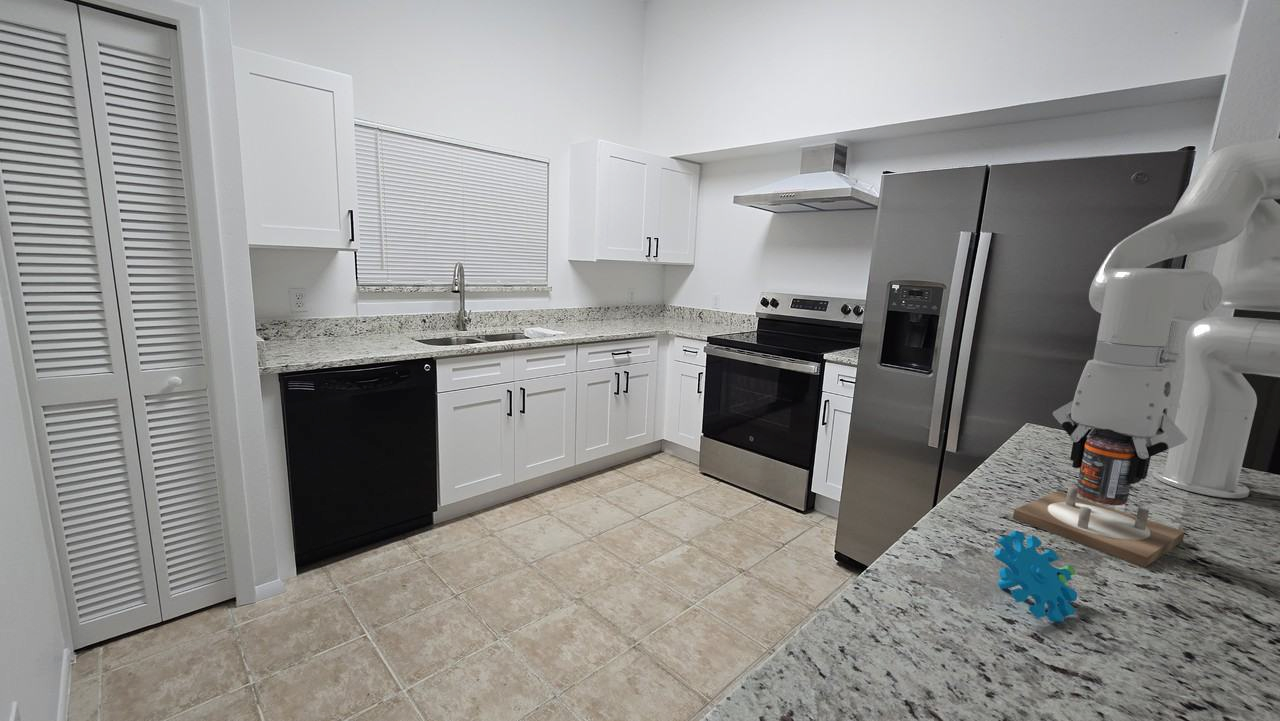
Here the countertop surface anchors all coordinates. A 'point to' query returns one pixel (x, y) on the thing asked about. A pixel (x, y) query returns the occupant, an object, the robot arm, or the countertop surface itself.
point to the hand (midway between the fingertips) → (1105, 472)
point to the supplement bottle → (1106, 467)
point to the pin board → (1101, 527)
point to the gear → (1035, 576)
